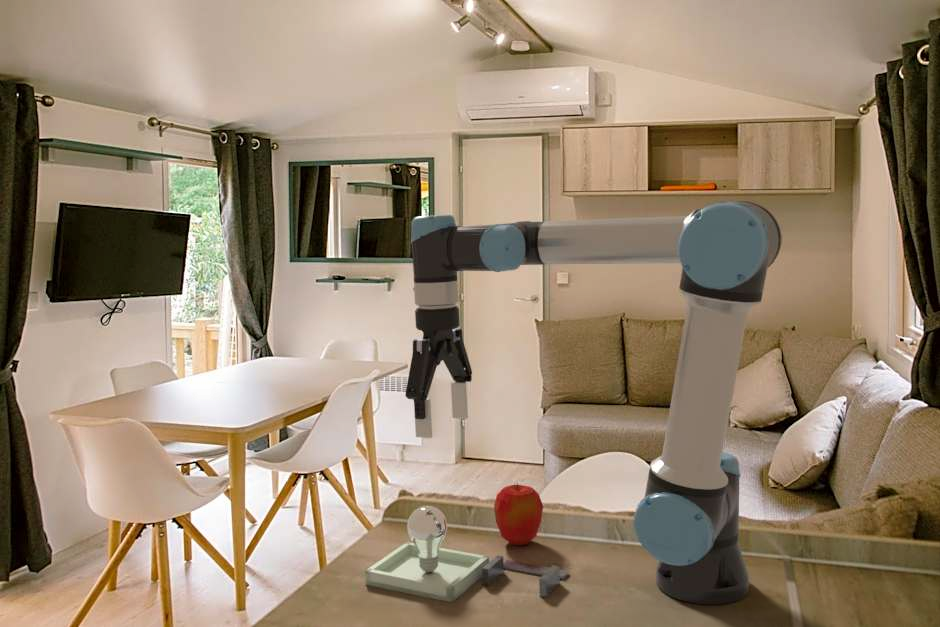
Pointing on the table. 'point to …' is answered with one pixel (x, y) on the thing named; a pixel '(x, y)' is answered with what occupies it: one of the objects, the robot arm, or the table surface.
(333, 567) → the table surface
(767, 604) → the table surface
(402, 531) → the table surface
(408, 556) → the parts tray
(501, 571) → the clip holder
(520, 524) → the apple
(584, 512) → the table surface
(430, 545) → the light bulb
